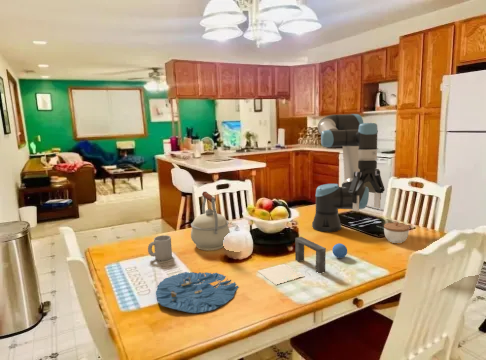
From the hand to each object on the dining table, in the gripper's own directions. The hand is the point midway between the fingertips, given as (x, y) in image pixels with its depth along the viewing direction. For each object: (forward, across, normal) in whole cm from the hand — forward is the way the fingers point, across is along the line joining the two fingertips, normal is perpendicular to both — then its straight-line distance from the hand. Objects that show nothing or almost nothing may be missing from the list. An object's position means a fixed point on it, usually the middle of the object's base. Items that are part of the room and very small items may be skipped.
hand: (366, 209), depth 147 cm
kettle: (+19, -52, +48) cm, 74 cm away
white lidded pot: (+18, +22, +1) cm, 28 cm away
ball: (+17, -14, +2) cm, 22 cm away
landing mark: (+21, -43, +4) cm, 48 cm away
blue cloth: (+24, -76, +11) cm, 80 cm away
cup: (+20, -77, +46) cm, 92 cm away
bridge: (+21, -29, +3) cm, 36 cm away
